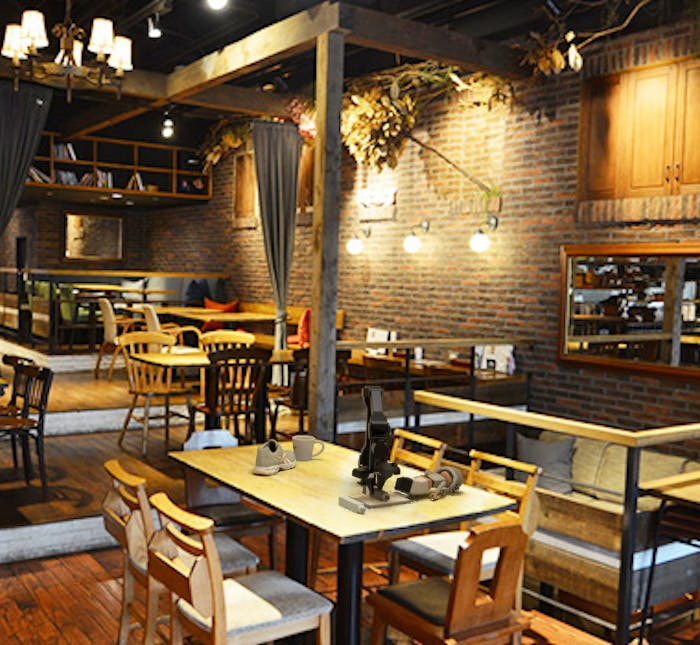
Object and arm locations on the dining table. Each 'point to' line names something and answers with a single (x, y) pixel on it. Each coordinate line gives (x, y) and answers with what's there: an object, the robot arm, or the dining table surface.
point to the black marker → (376, 493)
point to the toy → (431, 482)
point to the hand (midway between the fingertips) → (375, 494)
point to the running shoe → (273, 459)
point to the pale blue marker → (351, 504)
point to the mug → (305, 447)
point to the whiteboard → (371, 502)
